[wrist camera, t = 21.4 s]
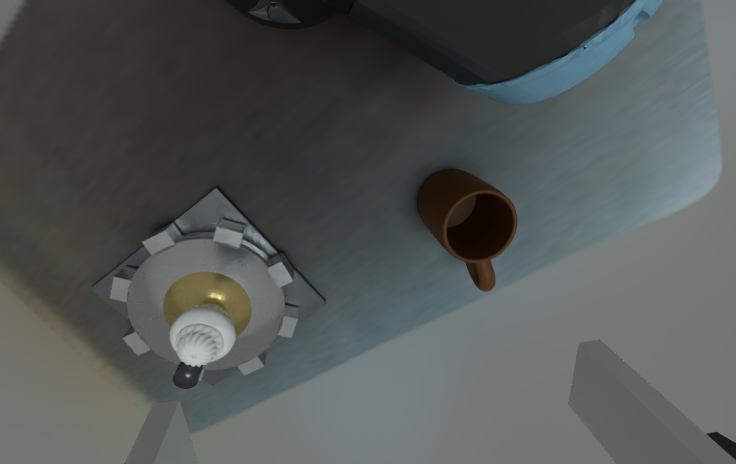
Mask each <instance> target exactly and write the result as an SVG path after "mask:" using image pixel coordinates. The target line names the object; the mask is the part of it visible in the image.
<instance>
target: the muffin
mask: <svg viewBox="0 0 736 464" xmlns="http://www.w3.org/2000/svg"><path fill="white" fill-rule="evenodd" d="M235 339H236V332H235V328H234V326H233V322H232V320H231V318H230V317H229V315H228V314H227V313H226V311H225V310H224V309H223V308H222V307H221V306H219V305H216V304H213V303H212V304H211V303H209V304H203V305H199V306H196V307H192V309H188V310H187V311H186V312H184V313H182V314H181V315H180V316H179V317H178V318H177V319H176V320H175V322H174V323H173V325H172V327H171V329H170V342H171V345H172V347H173V348H174V350H175V351H176V352H177V355H178V356H179V359H180V360H181V361H182V362H184V363H185V364H186V365H191V366H192V367H194V366H195V365H197V366H198V367H200V366H201V365H202V364H203V365H207V363H209V362H213V361H216V360H218V359H220V358H222V357H224V356H225V355H226V354H227V353H228V352H229V351H230V350H231V348H232V347H233V345H234V342H235Z"/></svg>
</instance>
